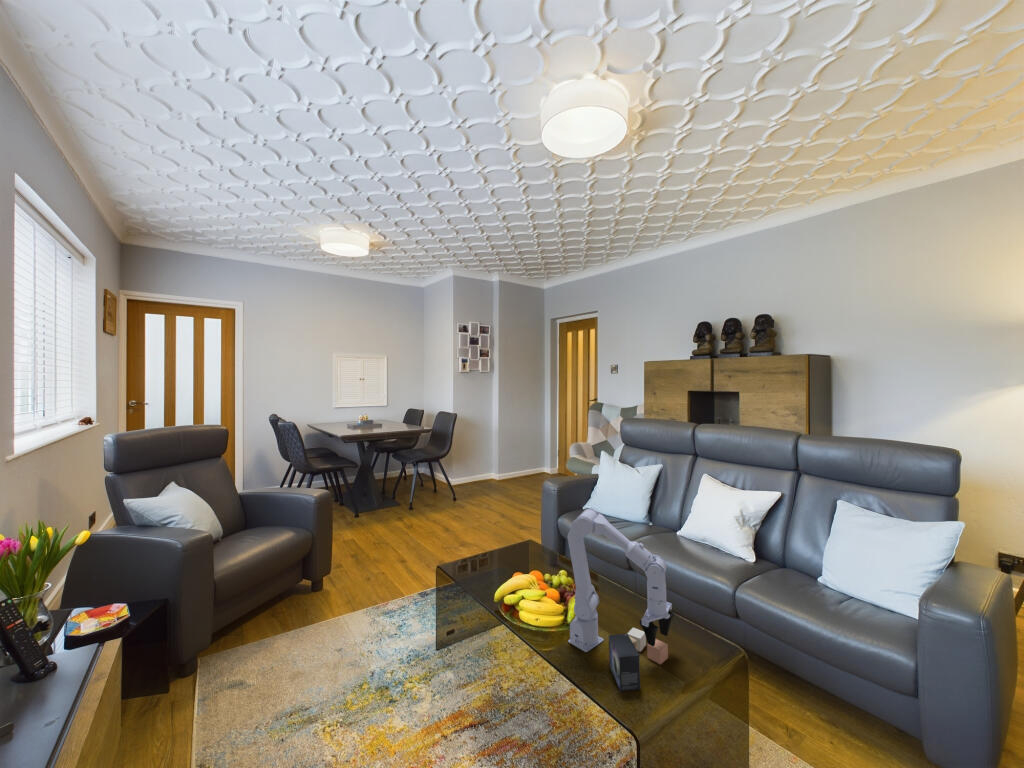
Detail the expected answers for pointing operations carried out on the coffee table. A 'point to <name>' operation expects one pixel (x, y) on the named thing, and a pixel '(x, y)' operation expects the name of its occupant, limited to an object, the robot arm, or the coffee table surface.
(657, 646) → the terracotta cube
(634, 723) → the coffee table surface
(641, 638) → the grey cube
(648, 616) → the robot arm
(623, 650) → the small box
